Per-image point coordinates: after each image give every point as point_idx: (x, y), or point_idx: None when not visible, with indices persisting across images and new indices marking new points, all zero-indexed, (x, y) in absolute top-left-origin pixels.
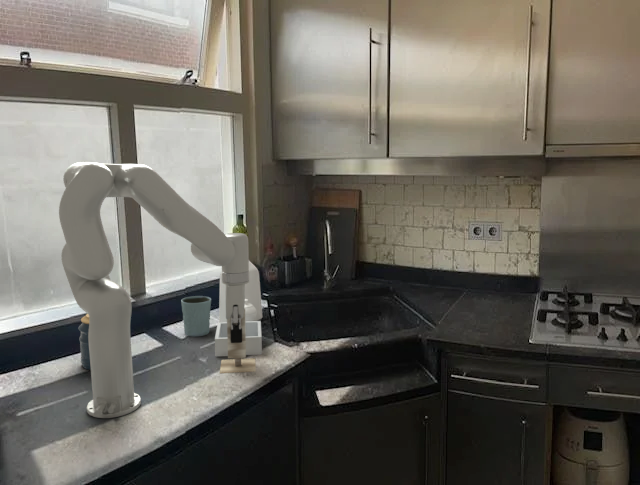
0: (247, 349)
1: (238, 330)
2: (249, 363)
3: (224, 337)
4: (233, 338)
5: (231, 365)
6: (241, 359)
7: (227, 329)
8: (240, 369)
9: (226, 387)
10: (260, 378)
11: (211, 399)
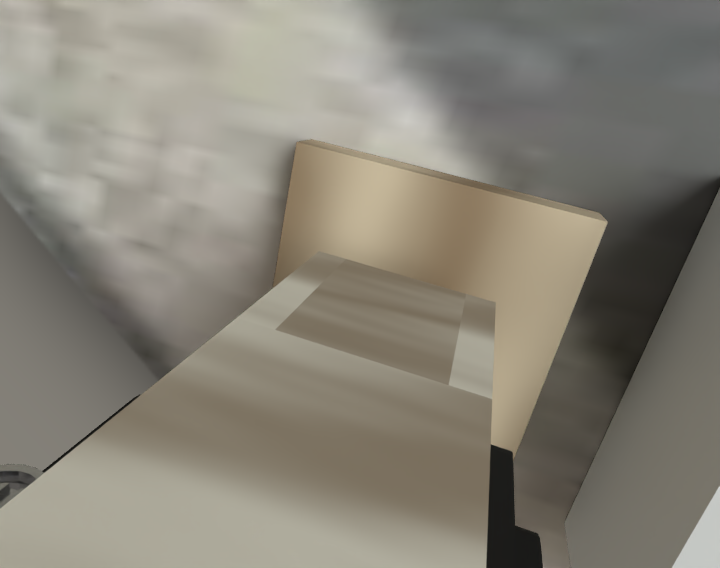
0: (622, 493)
1: None
2: None
3: None
4: (128, 403)
5: (425, 272)
6: (525, 382)
7: (111, 419)
8: None
9: (154, 156)
10: None
11: (6, 23)
